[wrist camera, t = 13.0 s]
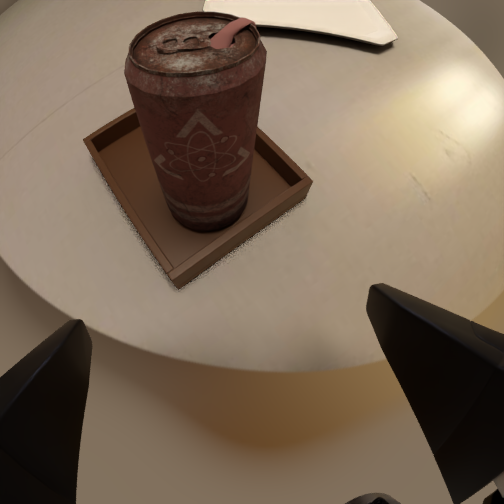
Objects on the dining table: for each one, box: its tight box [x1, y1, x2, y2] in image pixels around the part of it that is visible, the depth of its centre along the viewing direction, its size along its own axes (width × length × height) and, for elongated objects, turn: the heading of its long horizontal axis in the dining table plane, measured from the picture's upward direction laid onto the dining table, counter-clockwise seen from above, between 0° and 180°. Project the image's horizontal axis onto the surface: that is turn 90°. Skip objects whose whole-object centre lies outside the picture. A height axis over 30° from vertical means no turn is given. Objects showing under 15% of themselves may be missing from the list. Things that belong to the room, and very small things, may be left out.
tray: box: [83, 108, 313, 289], centre depth 23 cm, size 15×12×3 cm
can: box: [124, 12, 267, 231], centre depth 16 cm, size 6×6×14 cm
